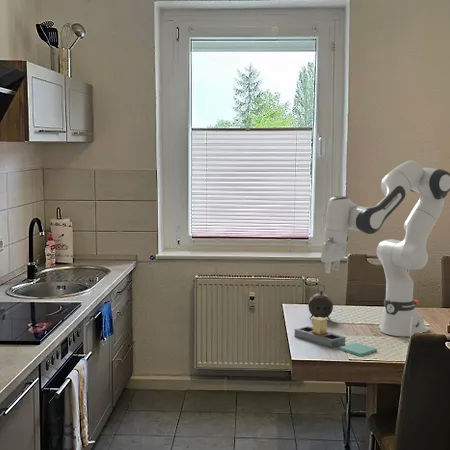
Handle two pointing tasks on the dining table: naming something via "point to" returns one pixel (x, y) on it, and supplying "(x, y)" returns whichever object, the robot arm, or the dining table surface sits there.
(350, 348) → the teal board
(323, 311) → the alarm clock
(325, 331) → the brass peg
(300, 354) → the dining table surface
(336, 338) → the grey peg holder tray
